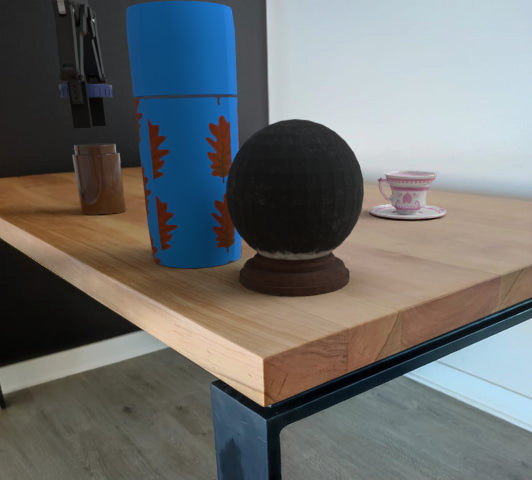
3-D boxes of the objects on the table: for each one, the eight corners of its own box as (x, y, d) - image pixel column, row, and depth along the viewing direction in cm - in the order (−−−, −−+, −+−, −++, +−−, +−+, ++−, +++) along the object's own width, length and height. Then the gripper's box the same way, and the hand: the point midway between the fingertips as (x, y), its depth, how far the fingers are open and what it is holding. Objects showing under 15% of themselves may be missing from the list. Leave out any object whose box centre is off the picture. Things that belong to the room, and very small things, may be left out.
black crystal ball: (295, 255, 64) (296, 117, 58) (386, 278, 55) (398, 117, 49) (204, 278, 56) (193, 120, 50) (291, 309, 47) (292, 121, 41)
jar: (75, 215, 91) (64, 146, 87) (88, 208, 98) (79, 143, 94) (120, 214, 91) (111, 145, 87) (130, 207, 98) (123, 142, 94)
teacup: (438, 207, 92) (442, 169, 90) (453, 220, 81) (458, 177, 79) (366, 207, 93) (368, 169, 91) (372, 220, 82) (374, 178, 80)
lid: (123, 97, 89) (122, 85, 89) (92, 96, 82) (91, 83, 82) (82, 97, 92) (80, 86, 91) (49, 97, 85) (47, 84, 84)
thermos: (237, 243, 70) (228, 18, 60) (249, 265, 61) (240, 1, 50) (152, 248, 69) (127, 17, 58) (150, 271, 59) (120, -1, 49)
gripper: (66, -26, 89) (87, 125, 99) (13, -61, 70) (45, 129, 80) (112, -26, 89) (128, 124, 99) (71, -62, 70) (96, 129, 80)
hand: (91, 126), depth 89 cm, fingers closed on lid, 8 cm apart
